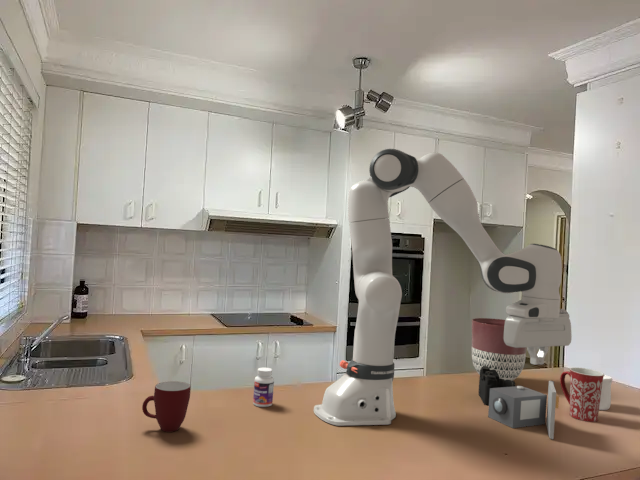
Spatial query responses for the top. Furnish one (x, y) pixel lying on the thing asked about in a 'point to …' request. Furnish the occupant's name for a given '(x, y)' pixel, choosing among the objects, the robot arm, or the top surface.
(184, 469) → the top surface
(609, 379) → the cup
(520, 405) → the housing
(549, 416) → the door
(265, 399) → the pill bottle
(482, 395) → the camera
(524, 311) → the robot arm
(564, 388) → the mug
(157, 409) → the mug
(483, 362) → the planter
